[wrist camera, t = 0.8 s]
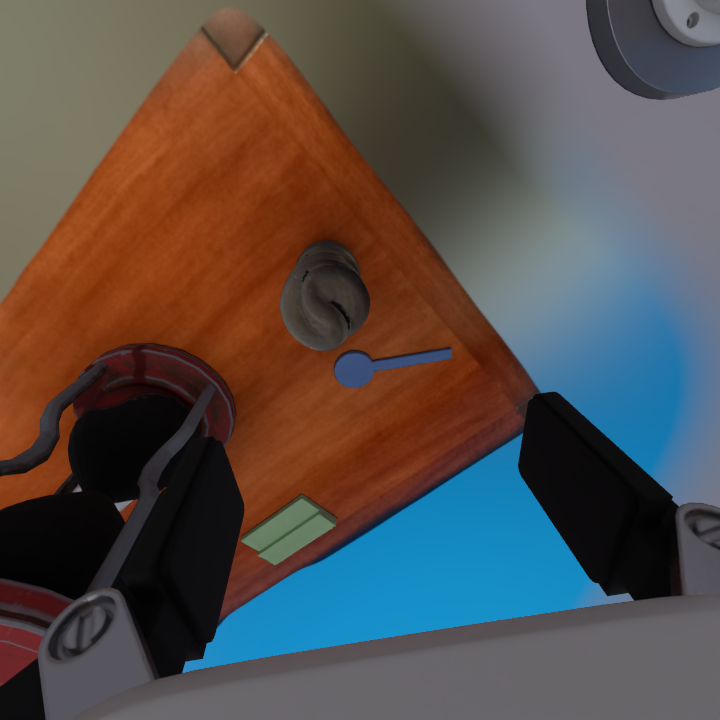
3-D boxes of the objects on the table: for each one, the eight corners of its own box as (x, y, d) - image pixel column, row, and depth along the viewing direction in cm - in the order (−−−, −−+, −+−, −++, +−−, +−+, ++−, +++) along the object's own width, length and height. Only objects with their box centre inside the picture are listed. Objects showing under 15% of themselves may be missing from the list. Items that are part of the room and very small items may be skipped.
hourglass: (169, 315, 34) (-111, 559, 12) (264, 426, 42) (196, 708, 19) (46, 386, 37) (-379, 701, 14) (156, 480, 44) (-16, 787, 22)
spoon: (450, 334, 38) (452, 336, 37) (450, 368, 40) (452, 371, 40) (331, 353, 38) (331, 356, 37) (337, 387, 40) (338, 390, 39)
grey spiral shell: (331, 300, 35) (335, 374, 22) (284, 268, 33) (258, 326, 20) (365, 255, 33) (392, 304, 20) (318, 218, 31) (313, 245, 18)
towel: (302, 493, 47) (301, 501, 46) (336, 517, 50) (336, 526, 49) (241, 536, 50) (239, 545, 49) (277, 557, 53) (276, 566, 51)
